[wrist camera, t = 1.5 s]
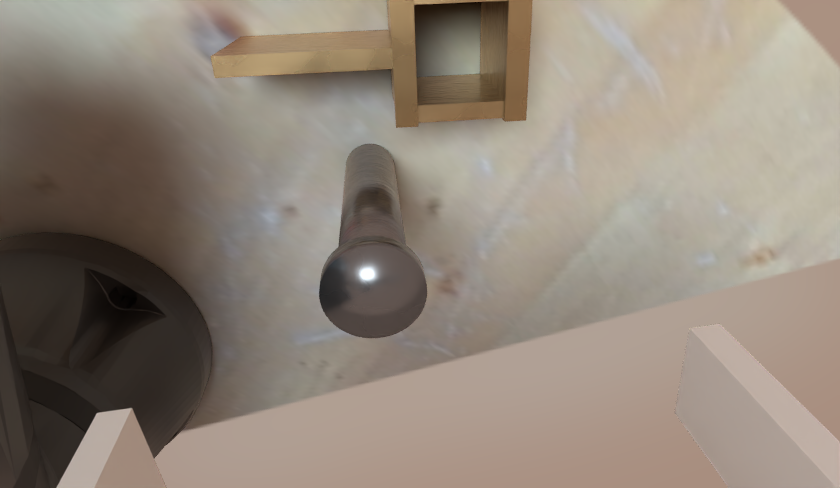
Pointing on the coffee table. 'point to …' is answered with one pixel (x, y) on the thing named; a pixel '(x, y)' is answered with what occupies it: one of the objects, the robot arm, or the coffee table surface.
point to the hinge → (406, 62)
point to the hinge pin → (372, 254)
